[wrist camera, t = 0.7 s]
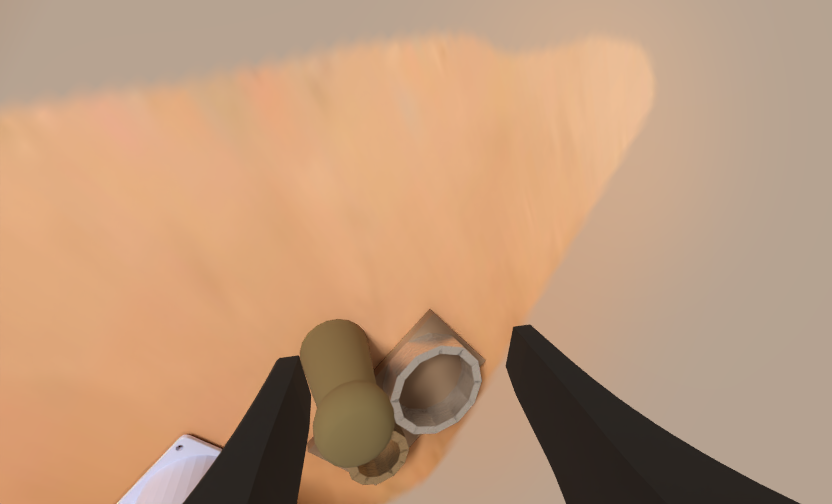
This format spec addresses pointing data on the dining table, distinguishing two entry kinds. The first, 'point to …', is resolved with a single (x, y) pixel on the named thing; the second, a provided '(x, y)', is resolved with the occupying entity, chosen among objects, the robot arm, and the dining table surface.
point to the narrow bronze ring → (383, 461)
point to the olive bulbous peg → (345, 395)
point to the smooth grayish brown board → (422, 373)
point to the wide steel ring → (453, 404)
